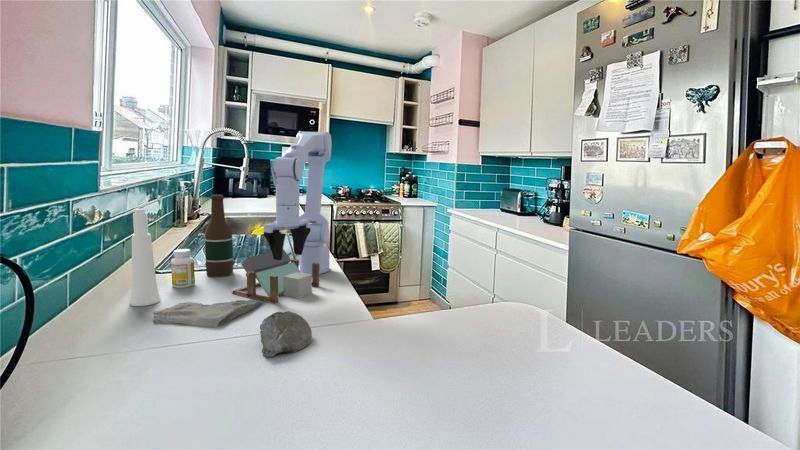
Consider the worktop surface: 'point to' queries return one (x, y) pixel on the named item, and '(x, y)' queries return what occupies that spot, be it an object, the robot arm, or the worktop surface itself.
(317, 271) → the walnut frame
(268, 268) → the trapdoor plate
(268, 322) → the fossilized seashell
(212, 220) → the beer bottle
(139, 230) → the cosmetic bottle
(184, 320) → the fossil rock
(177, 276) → the supplement bottle
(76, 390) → the worktop surface
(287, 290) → the stone block
